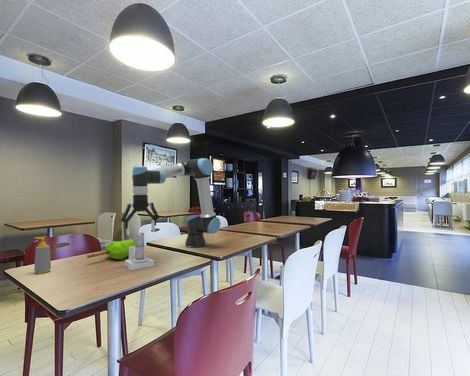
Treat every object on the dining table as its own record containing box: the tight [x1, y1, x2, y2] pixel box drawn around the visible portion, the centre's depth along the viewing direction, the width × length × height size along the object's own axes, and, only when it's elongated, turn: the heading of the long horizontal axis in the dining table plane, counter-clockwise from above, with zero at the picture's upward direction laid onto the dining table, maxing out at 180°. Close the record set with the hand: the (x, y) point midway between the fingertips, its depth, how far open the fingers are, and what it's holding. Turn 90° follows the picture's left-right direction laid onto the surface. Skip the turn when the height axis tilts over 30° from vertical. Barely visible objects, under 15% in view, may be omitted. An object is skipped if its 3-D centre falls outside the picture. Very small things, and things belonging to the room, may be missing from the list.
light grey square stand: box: [124, 246, 155, 271], centre depth 143 cm, size 12×12×10 cm
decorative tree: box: [86, 238, 135, 261], centre depth 157 cm, size 18×10×30 cm
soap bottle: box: [33, 236, 52, 275], centre depth 132 cm, size 7×7×18 cm
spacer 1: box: [134, 232, 145, 247], centre depth 142 cm, size 5×5×7 cm
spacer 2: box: [135, 245, 145, 260], centre depth 142 cm, size 5×5×7 cm
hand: (141, 233), depth 142 cm, fingers open, 13 cm apart
